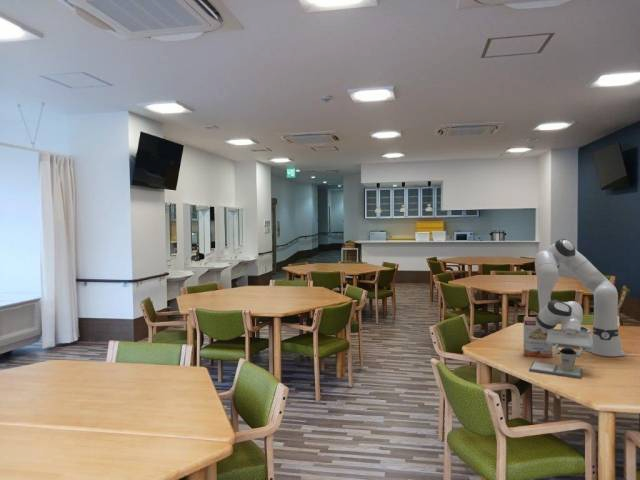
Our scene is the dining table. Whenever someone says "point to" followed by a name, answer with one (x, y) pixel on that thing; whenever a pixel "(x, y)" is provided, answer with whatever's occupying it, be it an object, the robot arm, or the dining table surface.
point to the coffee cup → (568, 359)
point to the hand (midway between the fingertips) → (567, 354)
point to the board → (555, 370)
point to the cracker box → (535, 339)
